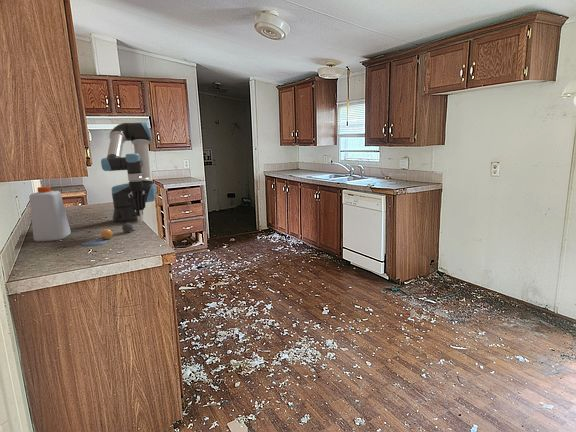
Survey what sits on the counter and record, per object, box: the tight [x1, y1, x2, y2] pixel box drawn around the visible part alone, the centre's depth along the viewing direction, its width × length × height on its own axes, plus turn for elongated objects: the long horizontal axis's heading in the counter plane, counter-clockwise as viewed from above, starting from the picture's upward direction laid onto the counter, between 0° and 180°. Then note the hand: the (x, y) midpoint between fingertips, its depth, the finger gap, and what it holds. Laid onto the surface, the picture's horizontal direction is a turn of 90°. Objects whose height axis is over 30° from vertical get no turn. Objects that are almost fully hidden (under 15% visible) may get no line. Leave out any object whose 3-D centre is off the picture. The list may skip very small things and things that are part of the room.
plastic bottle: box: [28, 185, 72, 243], centre depth 194 cm, size 15×15×28 cm
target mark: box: [81, 238, 109, 247], centre depth 184 cm, size 12×12×1 cm
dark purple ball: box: [121, 222, 134, 233], centre depth 202 cm, size 6×6×6 cm
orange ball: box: [100, 228, 113, 240], centre depth 190 cm, size 6×6×6 cm
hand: (140, 221), depth 211 cm, fingers closed
